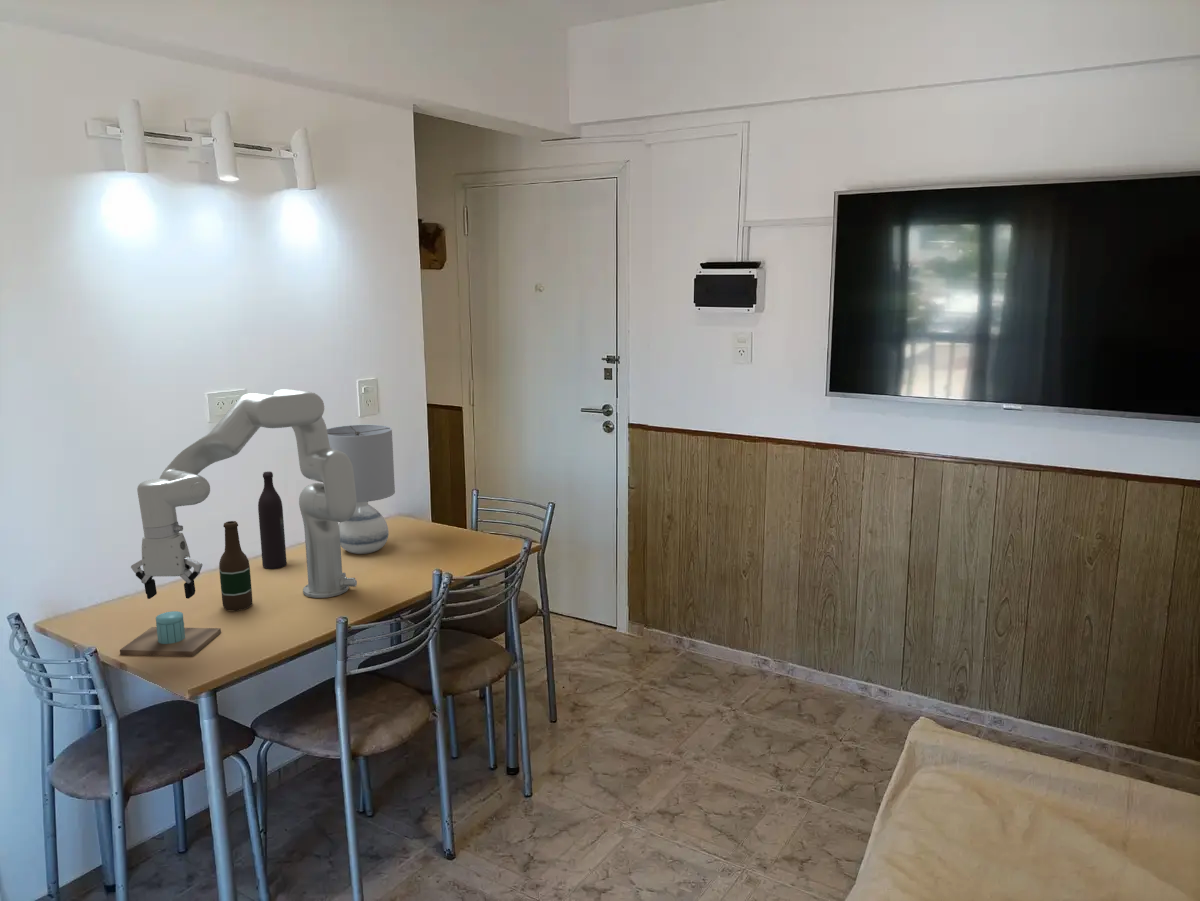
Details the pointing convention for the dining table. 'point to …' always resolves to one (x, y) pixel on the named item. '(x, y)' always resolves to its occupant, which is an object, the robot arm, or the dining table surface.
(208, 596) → the dining table surface
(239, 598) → the beer bottle
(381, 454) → the lamp
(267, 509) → the wine bottle
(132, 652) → the post board
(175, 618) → the cap
